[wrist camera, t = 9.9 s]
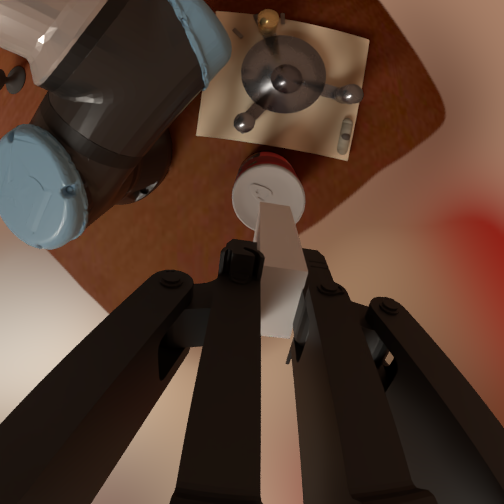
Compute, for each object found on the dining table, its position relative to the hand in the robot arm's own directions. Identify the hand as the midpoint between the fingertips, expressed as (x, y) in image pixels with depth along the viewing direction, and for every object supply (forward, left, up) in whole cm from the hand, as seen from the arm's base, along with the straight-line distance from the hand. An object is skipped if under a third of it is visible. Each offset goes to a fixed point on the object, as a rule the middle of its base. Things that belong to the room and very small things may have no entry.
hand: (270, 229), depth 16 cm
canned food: (+1, -4, -29) cm, 29 cm away
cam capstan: (0, +11, -26) cm, 29 cm away
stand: (+1, +10, -28) cm, 30 cm away
